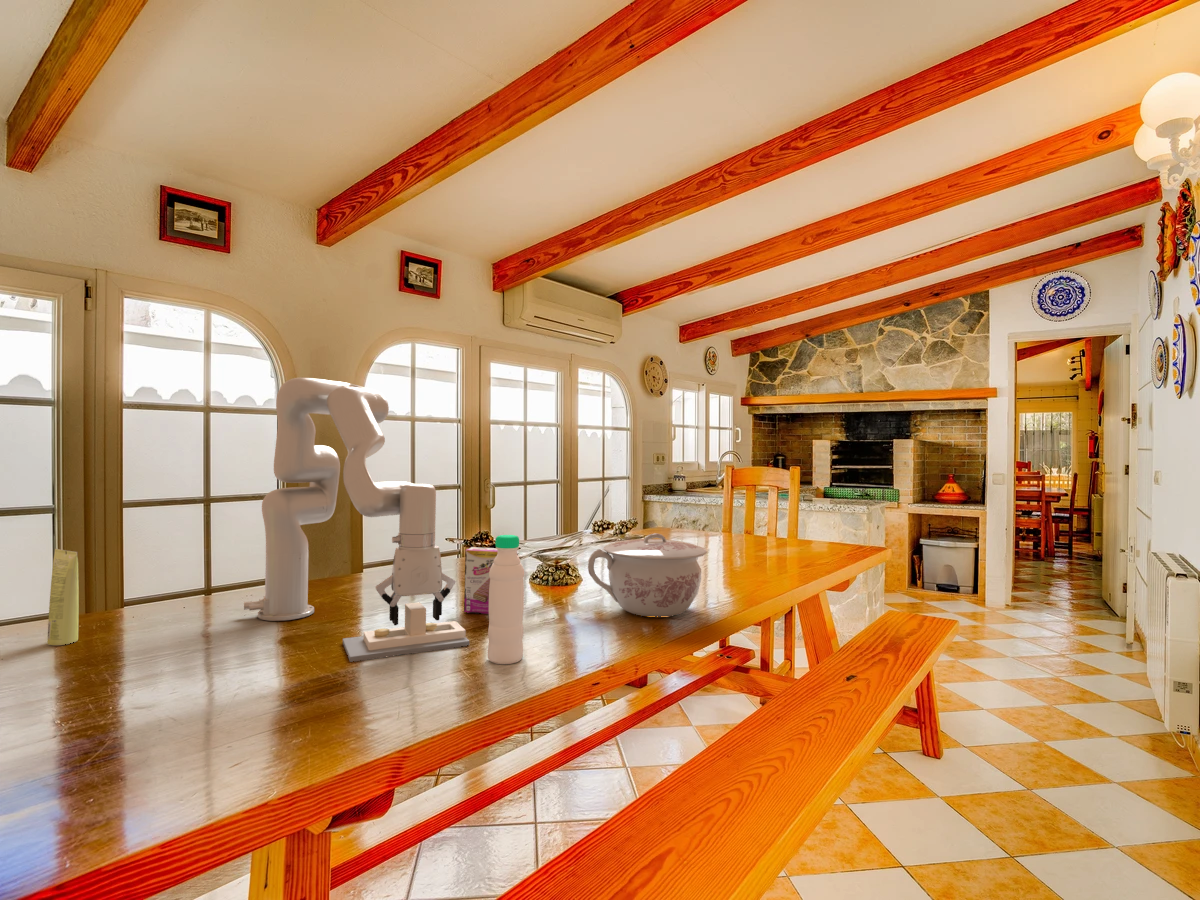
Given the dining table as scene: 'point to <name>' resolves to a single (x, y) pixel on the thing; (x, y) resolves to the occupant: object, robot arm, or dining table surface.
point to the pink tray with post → (414, 631)
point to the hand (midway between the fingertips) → (415, 620)
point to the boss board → (360, 651)
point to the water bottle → (506, 603)
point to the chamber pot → (651, 574)
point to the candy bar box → (478, 579)
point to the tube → (64, 599)
